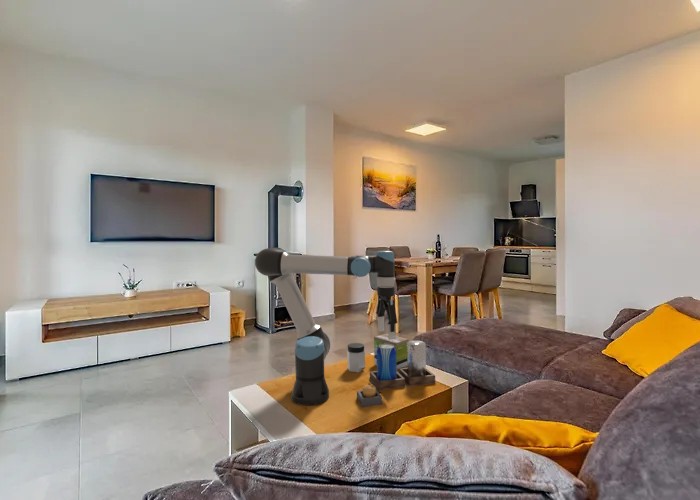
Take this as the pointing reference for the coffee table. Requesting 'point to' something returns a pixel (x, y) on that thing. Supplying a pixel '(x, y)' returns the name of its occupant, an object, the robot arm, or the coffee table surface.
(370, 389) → the button
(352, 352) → the jar
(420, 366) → the billet
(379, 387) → the tray
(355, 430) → the coffee table surface
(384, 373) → the beer can
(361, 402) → the button housing
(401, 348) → the tea box
